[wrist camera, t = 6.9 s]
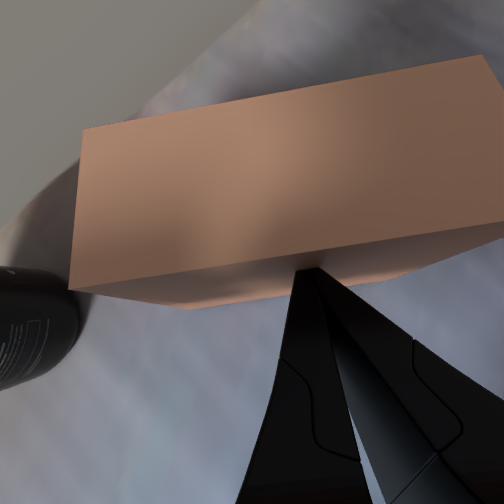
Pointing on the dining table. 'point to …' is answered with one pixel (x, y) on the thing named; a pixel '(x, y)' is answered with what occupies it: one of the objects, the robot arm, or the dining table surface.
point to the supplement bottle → (34, 323)
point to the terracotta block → (292, 187)
